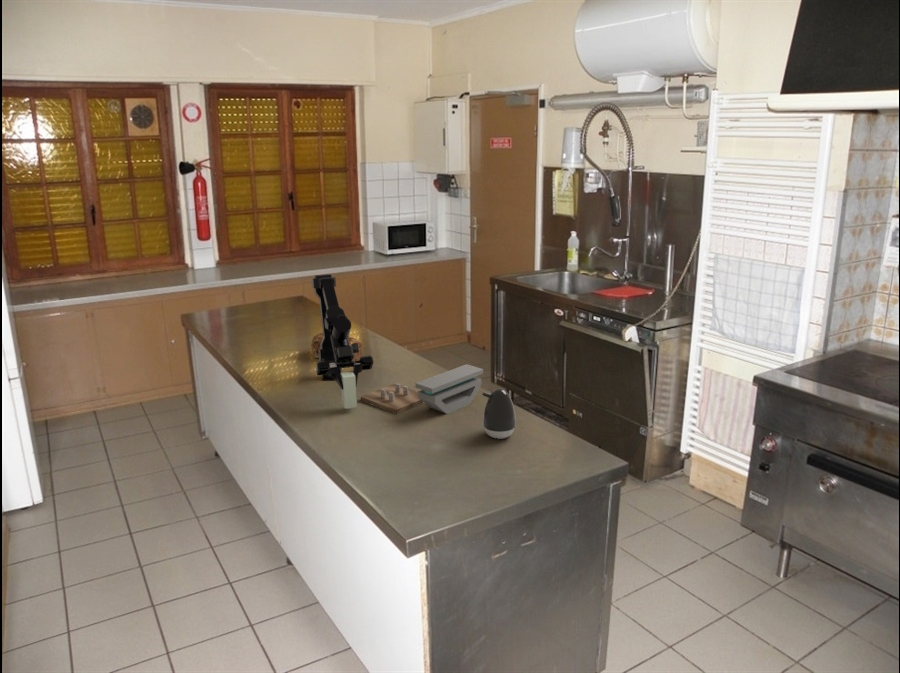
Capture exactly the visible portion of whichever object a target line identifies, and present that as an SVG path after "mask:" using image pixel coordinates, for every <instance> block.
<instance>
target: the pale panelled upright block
mask: <svg viewBox="0 0 900 673" xmlns="http://www.w3.org/2000/svg"><path fill="white" fill-rule="evenodd" d="M340 375H341V380H342V383H343V390H342V389H341V388H340V389H341V404H342V406H343V408H344V409H345V410H346V409H354V408H358V403H357V401H358V399H357V386H356V379H355V375H354V373H353V370H351V371H345V372H343V371H342V373H340Z"/></svg>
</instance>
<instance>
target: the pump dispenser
mask: <svg viewBox="0 0 900 673" xmlns="http://www.w3.org/2000/svg"><path fill="white" fill-rule="evenodd" d="M481 394H482V396H483V397H486V398H488V399H487V402H486V404H485V407H484V412H483V416H482V426H483V428H484V431H485V432H486V434H487V435H488V436H489V437H491V438H494V439H496V438H497V439H496V440H500V439H501V440H502V439H503V440H504V439H506V438H509V437H510V436H511V435H512V434H513V433H514V431H515V429H516V426H517V417H516V411H515V407H514V402H513V401H512V399H511V396H510V395H509V393H508V391H506V390H505V389H503V388H496V389H494V390H493V391H492V392H491V393H488V392H486V391H485V392H484V391H483V392H482V393H481Z"/></svg>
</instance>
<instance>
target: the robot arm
mask: <svg viewBox="0 0 900 673" xmlns="http://www.w3.org/2000/svg"><path fill="white" fill-rule="evenodd" d="M336 279H337V278H336V276H332V275H331V274H330V273H329V274H328V273H327V274H315V275H314V276H313V278H311V281H310V283H311V288H312V289H313V292H314V295H316V297H317V298H318V300H319V309H320V318H321V325H322V328H321V329H322V333H323V337H324V338H323V340H322V342H321V344H320V349H319V355H318V358H317V359H318V361H317V363H316V365H315V366H316V367H315V370H316V376H322V377H321V380H322V381H335V382H336V383H337V385H338V386H339V388H340V389H342V390H343V383H342V380H341V375H340V373H342V372H343V370H342V369H346V368H347V369H348V368H353V369H352V372H353V373H354V375H355V379H356V387H357V386H358V379H359V373H362V371H366V370H367V371H368V370H371V369H372V368H373V365H374V362H375V361H374V358H373V355H362V356H361V357H360V359H358V360H354V361H353V360H352V359H354V353H358V352H359V347H358V343H354V344H352V346H350V345H349V341H348V337H350V333H351V330H352V329H351V328H352V321H351V320H350V319H349V318H348V316H346V313H345V310H344V309H343V308H342V307H341V306H340V304H339V300H338V297H337V294H336V287H337V280H336Z"/></svg>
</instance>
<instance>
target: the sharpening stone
mask: <svg viewBox="0 0 900 673" xmlns="http://www.w3.org/2000/svg"><path fill="white" fill-rule="evenodd" d="M480 375H484V368H480V367H477V366H473V365H470V364H467V363H466V364H464V365H461V366H458V367H455V368H453V369H450V370H446V371H444V372H442V373H439V374H436V375H434V376H431V377H429V378H425V379H423V380H420V381H417V382H415V383H414V384H415V385H414V386H415V388H416V389H419V390H418V391H417V392H418V398H419V399H420V400H422V401H423V402H424V403H423V404H425V405H427V406H428V407H429V408H430V409H432V408H433V410H435V411H439V412H440V411H441V413H443V414H446V415H448V414H451V413H453V412H455V411H457V410H461V409H463V408H465V407H467V406H469V405H471V404H472V402H473V400H474V398H475V397H476V394H477V393H478V392H479V390H480V388H481V386H482V378H479V377H478V376H480Z"/></svg>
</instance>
